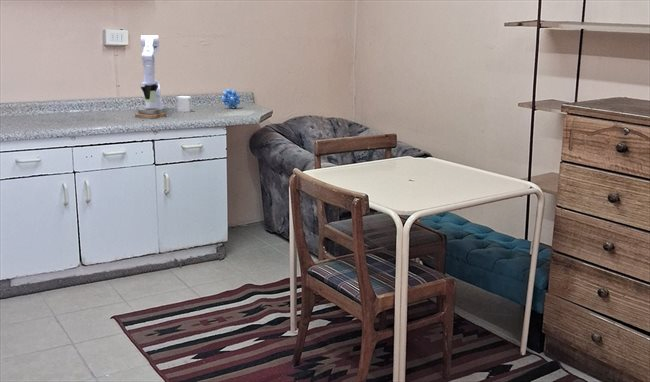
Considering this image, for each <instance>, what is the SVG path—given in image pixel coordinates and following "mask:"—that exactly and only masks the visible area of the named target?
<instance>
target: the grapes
mask: <svg viewBox="0 0 650 382" xmlns="http://www.w3.org/2000/svg"><path fill="white" fill-rule="evenodd" d="M240 98H241V97H240V95H239V94H238V93H237V91H236V90H235V89H231V88H227V89H226V90H224V91H222V96H221V100H222V101H223V105H224V106H227V107H228V108H229V109H233V108H235V109H236V108H238V105H239V104H240V103H241V100H240Z"/></svg>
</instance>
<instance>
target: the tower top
mask: <svg viewBox="0 0 650 382" xmlns="http://www.w3.org/2000/svg"><path fill="white" fill-rule="evenodd" d="M162 113H165V108H152V107H149V108H146V107H143V108H138V109H137V114H145V115H157V114H162Z"/></svg>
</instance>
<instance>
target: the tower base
mask: <svg viewBox="0 0 650 382" xmlns="http://www.w3.org/2000/svg"><path fill="white" fill-rule="evenodd" d="M134 117H135V118H137V119H138V118H140V119H147V118H149V119H148V120H154V118H155V119H159V118H160V117H161V118H165V117H167V112H164V113H162V114H157V115H145V114H138V113H135V114H134Z"/></svg>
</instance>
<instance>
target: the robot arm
mask: <svg viewBox="0 0 650 382" xmlns="http://www.w3.org/2000/svg"><path fill="white" fill-rule="evenodd" d="M159 38H160V37H159V35H158V34H156V35H143V34H141V35H140V45H141V50H142V52H141V61H142V67H143V69H142V70H143V81H142V82H140V86H139V87H140V89H141V91H142V97H144V96H145V99H148V100H149V99H150V91H156V102H152V103H151V102H145V108H149V107H152V108H163V99H162V98H161V97H160V96H161V84H160V82H159V80H156V67H155V66H156V64H155V63H156V61H155V59H156V58H155V56H156V53H157V52H158V51H159V49H160V39H159ZM163 109H164V108H163Z"/></svg>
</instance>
